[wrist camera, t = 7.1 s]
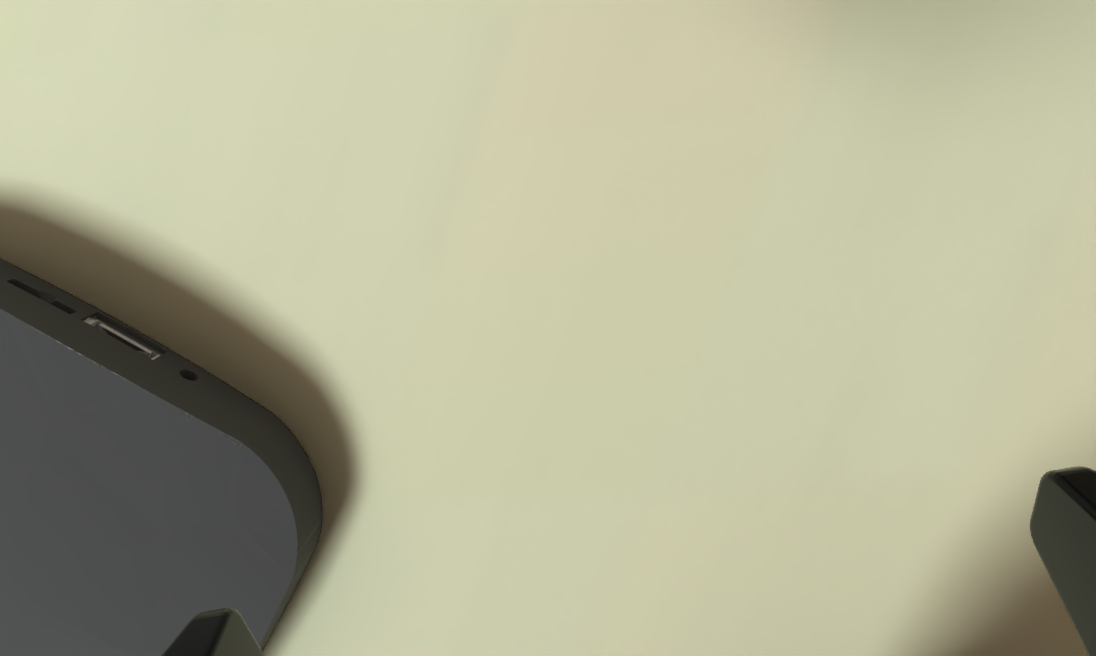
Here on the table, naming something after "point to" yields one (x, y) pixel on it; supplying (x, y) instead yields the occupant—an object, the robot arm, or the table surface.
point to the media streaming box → (134, 487)
